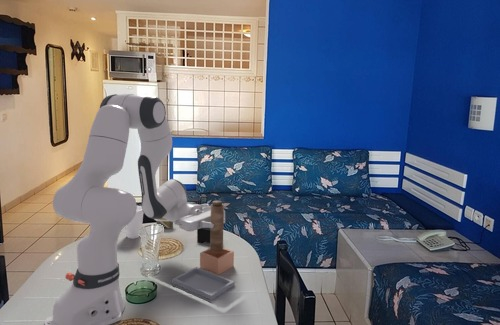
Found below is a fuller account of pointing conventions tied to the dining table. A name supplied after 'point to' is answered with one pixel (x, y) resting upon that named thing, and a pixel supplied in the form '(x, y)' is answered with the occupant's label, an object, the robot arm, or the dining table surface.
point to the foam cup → (135, 224)
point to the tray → (203, 283)
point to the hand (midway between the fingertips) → (218, 223)
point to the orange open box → (217, 261)
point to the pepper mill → (217, 227)
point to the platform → (164, 222)
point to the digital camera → (203, 235)
